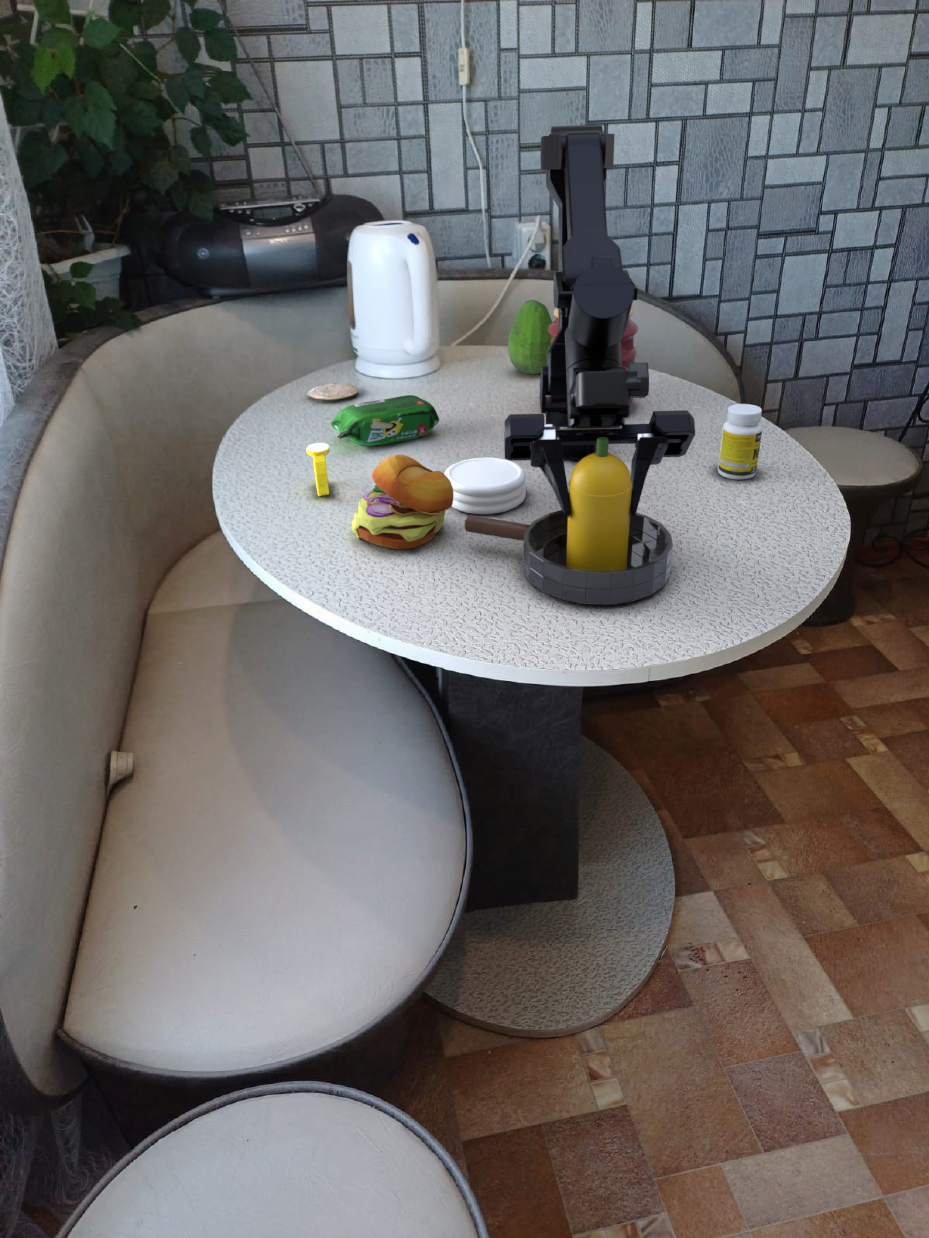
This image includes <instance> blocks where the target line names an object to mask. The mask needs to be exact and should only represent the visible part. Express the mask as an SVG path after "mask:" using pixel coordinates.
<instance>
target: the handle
mask: <svg viewBox="0 0 929 1238" xmlns="http://www.w3.org/2000/svg"><path fill="white" fill-rule="evenodd" d="M529 526H530V524H529V523H521V522H517V521H509V520H503V519H497V518H492V517H485V516H480V515H479V516H478V515H474V514H469V515H467V516H466V518H465V520H464V530H465V531H466V532H467V533H473V534H480V535H485V536H492V537H498V538H502V539H510V540H516V541H520V542H521V541H522V542H524V532H525V530H526V529H527V528H528V527H529Z"/></svg>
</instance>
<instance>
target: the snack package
mask: <svg viewBox="0 0 929 1238" xmlns="http://www.w3.org/2000/svg"><path fill="white" fill-rule="evenodd" d="M439 422H440V417H439V415H438V412H437V410H436V408H435V407H434V406H433V405H432V404H431V403H430V402H429V401H427V400H425V399H423V398H421V397H419V396H417V395H413V394H407V395H401V396H395V397H389V398H385V399H377V400H370V401H369V400H368V401H363V402H358V403H354V404H350V405H347V406H345V407H343V408H342V409H341V410H340V411H338V413H337V414H336V415H335V417H333V419H332V421H331V422H330V426H331V428H333V430H337V431H338V433H339V434H338V436H337V435H334V437H335V438H336V437H337V438H338V439H339V440H341V439H344V438H345V439H349V440H350V441H352V442H353V443H354V444H357V445H360V446H365V447H367V446H368V447H369V446H370V447H371V446H379V445H387V444H392V443H398V442H402V441H409V440H413V439H416V438H421V437H424V436H426V435H428V434H429V433H430V432H431V431H432V430H433V429H434V428H435V426H436V425H438V423H439Z"/></svg>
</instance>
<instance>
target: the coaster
mask: <svg viewBox="0 0 929 1238" xmlns="http://www.w3.org/2000/svg"><path fill="white" fill-rule="evenodd" d="M443 473H444V474H445V475H446V476H447V477H448V479H449V480H450V481H451V484H452V488H453V504H452V506H451V507H450V508H453V509H455V510H457V511H459V512H463V513H466V514H471V515H494V514H501V513H504V512H508V511H511V510H513V509H515V508H517V507H518V506H519V505H521V504H522V503H523V502H524V501H525V498H526V496H527V492H526V491H527V490H526V488H527V483H526V479H527V474H526V471H525V469H524V468H523V467H522V466H521V465H520V464H519V463H516V461H510V460H507V459H505V458H499V457H473V458H468V459H467V458H466V459H463V460H461V461H458V462H455V463H454V464H452V465H450V466H448V468H447V469H445V472H443Z"/></svg>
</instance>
